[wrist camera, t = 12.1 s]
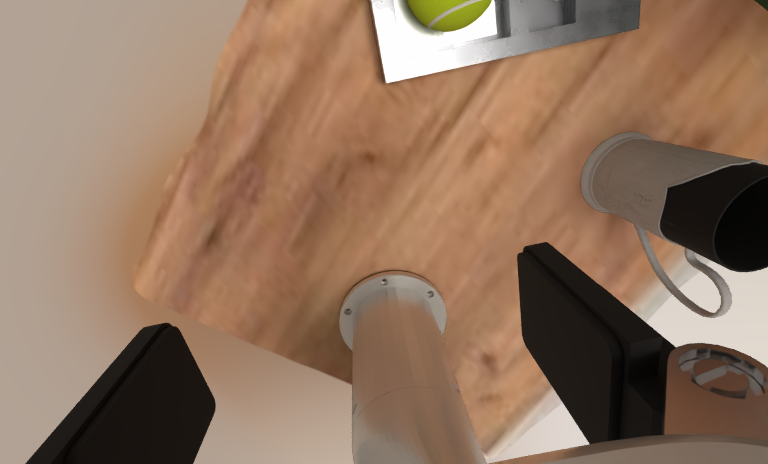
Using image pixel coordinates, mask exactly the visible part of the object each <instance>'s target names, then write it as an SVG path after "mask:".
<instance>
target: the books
mask: <svg viewBox="0 0 768 464" xmlns="http://www.w3.org/2000/svg"><path fill="white" fill-rule="evenodd" d="M755 1H756V2H757V3H759V4H760V5H761V6H763V7H764V8H765V9H766V10H768V0H755Z"/></svg>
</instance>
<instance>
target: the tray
mask: <svg viewBox="0 0 768 464" xmlns="http://www.w3.org/2000/svg"><path fill="white" fill-rule="evenodd" d="M640 2H641V0H492V2H491V4H490V6H489V7H488V9H487V10H486V11H485V12H484V14H483V15H482V16H481V17H480V18H479V19H477V20H476V21H475V22H474V23H472V24H471V25H469V26H467V27H465V28H463V29H460V30H457V31H452V32H442V31H436V30H433V29H431V28H429V27H428V26H425V25H424V24H423V23H421V22H420V21H419V20H418V19H417V17H416V16H415V15H414V13H413V12H412V10H411V8H410V6H409V4H408V1H407V0H369V6H370V11H371V16H372V22H373V27H374V33H375V38H376V44H377V49H378V54H379V60H380V65H381V71H382V76H383V82H384V83H389V82H394V81H399V80H403V79H408V78H413V77H417V76H422V75H427V74H431V73H436V72H440V71H445V70H450V69H454V68H459V67H464V66H468V65H473V64H478V63H482V62H487V61H491V60H496V59H501V58H505V57H510V56H515V55H519V54H524V53H529V52H533V51H538V50H543V49H547V48H552V47H556V46H561V45H566V44H570V43H575V42H580V41H584V40H589V39H594V38H598V37H603V36H608V35H612V34H617V33H621V32H626V31H631V30H635V29H639V18H640Z"/></svg>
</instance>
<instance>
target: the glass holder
mask: <svg viewBox="0 0 768 464" xmlns="http://www.w3.org/2000/svg"><path fill="white" fill-rule="evenodd" d="M580 183H581V191H582V195H583V197H584V199H585V201H586V202H587V203H588V204H589V205H590V206H591V207H592V208H594V209H596V210H598V211H600V212H604V213H613V214H615V215H617V216H619V217H621V218H623V219H625V220H627V221H629V222H631V223H633V224H634V226H635V228H636V230H637V233H638V235H639V238H640V240H641V243H642V245H643V248H644V250H645V253H646V255H647V257H648V259H649V262H650V264H651V266H652V268H653V270H654V272H655V273H656V275H657V276H658V277H659V279H660V280H661V282H662V283H663V284H664V285H665V287H666V288H667V289H668V290H669V291H670V292H671V293H672V294H673V295H674V296H675V297H676V298H677V299H678V300H679V301H680V302H681V303H683V304H684V305H685V306H687V307H688V308H689V309H691V310H692V311H694V312H696V313H697V314H699V315H701V316H703V317H710V318H715V317H719V316H721V315H724V314H725V313H726V312H727V311H728V310H729V309H730V307H731V304H732V295H731V292H730V289H729V287H728V285H727V284H726V282H725V280H724V279H723V278H722V277H721V276H720V275H719V274H718V273H717V272H716V271H714V270H713V269H711V268H710V267H708V266H706V265H705V264H703V263H701V262H700V261H699V260H697V259H696V257H695V253H697V254H699V255H701V256H703V257H705V258H707V259H709V260H711V261H713V262H715V263H717V264H720V265H722V266H723V267H725V268H727V269H729V270H733V271H736V272H751V271H757V270H761V269H764V268H767V267H768V165H763V164H762V162H759V161H756V160H751V159H746V158H741V157H736V156H731V155H725V154H720V153H715V152H710V151H705V150H700V149H695V148H690V147H684V146H679V145H674V144H669V143H664V142H659V141H654V140H652V139H651V138H650V137H648V136H646V135H644V134H641V133H637V132H625V133H621V134H617V135H615V136H613V137H610V138H609V139H607V140H606V141H604V142H603V143H601V144H600V145H599V146H598V147H597V148H596V149H595V150H594V151H593V152H592V153H591V155H590V156H589V158H588V159H587V161H586V163H585V165H584V167H583V171H582V174H581V181H580ZM645 230H647V231H649V232H651V233H653V234H655V235H657V236H659V237H661V238H663V239H665V240H666V241H668V242H670V243H673V244H676V245H681V246H683V247H685V257H686V259H687V261H688V262H689V263H690V264H691V265H692V266H693V267H695V268H697V269H698V270H700V271H702V272H703V273H704V274H706V275H707V276H708V277H709V278H710V279H711V280H712V281H713V282H714V283H715V285H716V286H717V288H718V290H719V293H720V295H721V305H720V308H719V309H718V310H717V312H716V313H710V312H708V311H706V310H704V309H702V308H700V307H699V306H698V305H696V304H695V303H693V302H692V301H691V300H689V299H688V298H687V297H686V296H685V295H684V294H683V293H682V292H681V291H680V290H678V289H677V288H676V286H675V285H674V284H673V283H672V281H671V280H670V279H669V278H668V276H667V275H666V273H665V272H664V270H663V269H662V267H661V265H660V264H659V262H658V260H657V257H656V255H655V253H654V251H653V249H652V246H651V244H650V241H649V239H648V236H647V234H646V231H645ZM694 252H695V253H694Z"/></svg>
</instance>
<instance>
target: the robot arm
mask: <svg viewBox="0 0 768 464" xmlns="http://www.w3.org/2000/svg"><path fill="white" fill-rule="evenodd" d="M517 262H518V278H519V294H520V310H521V326H522V336H523V340H524V343H525V345H526V347H527V349H528V350H529V352H530V353H531V355H532V356H533V358H534V359H535V361H536V362H537V364H538V365H539V367H540V368H541V370H542V372H543V373H544V375H545V376H546V378H547V379H548V381H549V382H550V384H551V385H552V387H553V388H554V390H555V391H556V393H557V395H558V396H559V398H560V399H561V401H562V402H563V404H564V405H565V407H566V408H567V410H568V411H569V413H570V414H571V416H572V417H573V419H574V421H575V422H576V424H577V425H578V427H579V428H580V430H581V431H582V433H583V434H584V436H585V437H586V439H587V440H588V442H589V445H584V446H578V447H573V448H568V449H562V450H557V451H551V452H546V453H541V454H535V455H530V456H524V457H519V458H514V459H509V460H505V461H499V462H495V463H489V464H768V368H767V367H766V366H765V365H763V364H762V363H760V362H759V361H757V360H756V359H754V358H752V357H751V356H748V355H746V354H744V353H741V352H739V351H737V350H734V349H730V348H726V347H723V346H719V345H713V344H705V343H694V344H686V345H683V346H679V347H677V348H676V347H675V346H674V345H672V344H671V343H670V342H669V341H667V340H666V339H665V338H664V337H662V336H661V335H660V334H659V333H658V332H657V331H655V330H654V329H653V328H652V327H650V326H649V325H648V324H647V323H646V322H644V321H643V320H642V319H641V318H640V317H638V316H637V315H636V314H635V313H633V312H632V311H631V310H630V309H629V308H627V307H626V306H625V305H624V304H622V303H621V302H620V301H619V300H618V299H616V298H615V297H614V296H613V295H612V294H610V293H609V292H608V291H607V290H605V289H604V288H603V287H602V286H600V285H599V284H597V283H596V282H595V281H594V280H593V279H591V278H590V277H589V276H588V275H587V274H585V273H584V272H583V271H582V270H581V269H579V268H578V267H577V266H576V265H574V264H573V263H572V262H571V261H570V260H568V259H567V258H566V257H565V256H564V255H562V254H561V253H560V252H559V251H557V250H556V249H555V248H554V247H553V246H551V245H550V244H549V243H547V242H544V243H539V244H534V245H530V246H525V247H524V249H523V252H522V253H519V254H518V256H517ZM383 279H385V280H383ZM429 291H430V292H429ZM446 322H447V311H446V307H445V304H444V301H443V299H442V296H441V294H440V293H439V292H438V290H437V289H436V287H434V286H433V285H432V284H431V283H430V282H429V281H427V280H426V279H424V278H423V277H421V276H418V275H416V274H413V273H409V272H403V271H388V272H382V273H378V274H375V275H372V276H370V277H368V278H366V279H364V280H363V281H361V282H359V283H358V284H357V285H356V286H355V287H353V288H352V290H351V291H350V292H349V293H348V294H347V296H346V298H345V299H344V301H343V303H342V306H341V310H340V317H339V327H340V332H341V335H342V338H343V340H344V342H345V343H346V345H347V346H348V347H349V348H350V350H351V351H352V452H353V460H354V464H487V463H486V461H485V458H484V456H483V453H482V450H481V448H480V445H479V442H478V440H477V437H476V434H475V431H474V428H473V425H472V423H471V420H470V417H469V414H468V412H467V409H466V406H465V403H464V400H463V397H462V394H461V391H460V388H459V386H458V383H457V380H456V377H455V374H454V371H453V368H452V365H451V362H450V359H449V357H448V354H447V351H446V348H445V345H444V342H443V339H442V335H443V332H444V330H445V327H446ZM214 412H215V399H214V397H213V395H212V393H211V391H210V389H209V387H208V385H207V383H206V381H205V379H204V377H203V375H202V373H201V371H200V369H199V368H198V366H197V363H196V361H195V359H194V357H193V356H192V354H191V352H190V350H189V348H188V346H187V344H186V342H185V340H184V338H183V336H182V334H181V332H180V330H179V329H178V328H177V327H175V326H174V327H173V326H172V325H171V324H169V323H162V324H158V325H153V326H148V327H144V328H143V329H142V330H140V331H139V333H138V334H137V335H136V336H135V337H134V338H133V339H132V341H131V342H130V343H129V344H128V345H127V347H126V348H125V349H124V350H123V351H122V352H121V354H120V355H119V356H118V357H117V358H116V359H115V360H114V362H113V363H112V364H111V365H110V366H109V368H108V369H107V370H106V371H105V372H104V373H103V374H102V375H101V377H100V378H99V379H98V380H97V381H96V382H95V384H94V385H93V386H92V387H91V388H90V390H89V391H88V392H87V393H86V394H85V395H84V396H83V398H82V399H81V400H80V401H79V402H78V403H77V404H76V406H75V407H74V408H73V409H72V410H71V411H70V413H69V414H68V415H67V416H66V417H65V419H64V420H63V421H62V422H61V423H60V424H59V425H58V427H57V428H56V429H55V430H54V431H53V432H52V433H51V435H50V436H49V437H48V438H47V439H46V440H45V442H44V443H43V444H42V445H41V446H40V447H39V449H38V450H37V451H36V452H35V453H34V455H33V456H32V457H31V458H30V459H29V460H28V461H27V463H26V464H193V463H194V460H195V458H196V455H197V453H198V451H199V448H200V446H201V444H202V441H203V439H204V436H205V434H206V432H207V429H208V427H209V425H210V422H211V420H212V418H213V415H214Z"/></svg>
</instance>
